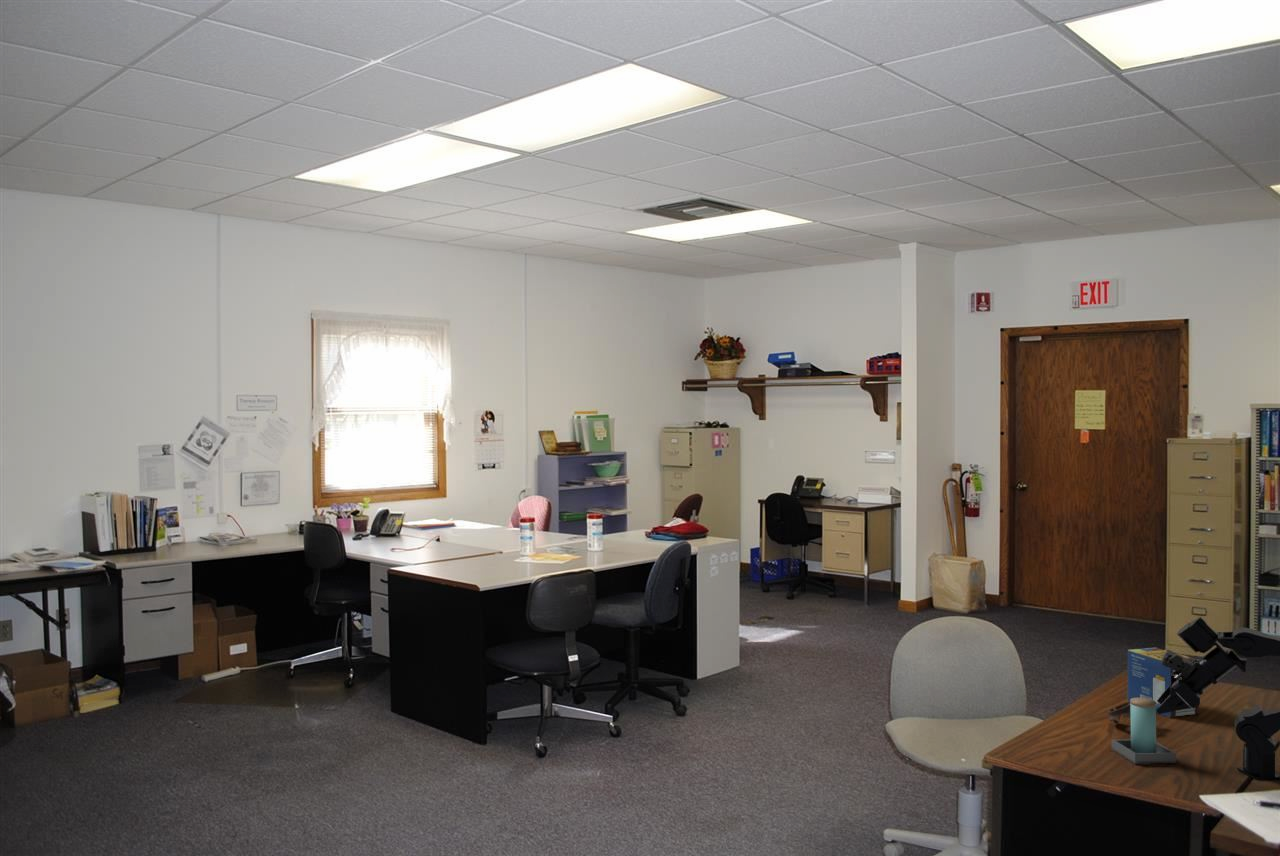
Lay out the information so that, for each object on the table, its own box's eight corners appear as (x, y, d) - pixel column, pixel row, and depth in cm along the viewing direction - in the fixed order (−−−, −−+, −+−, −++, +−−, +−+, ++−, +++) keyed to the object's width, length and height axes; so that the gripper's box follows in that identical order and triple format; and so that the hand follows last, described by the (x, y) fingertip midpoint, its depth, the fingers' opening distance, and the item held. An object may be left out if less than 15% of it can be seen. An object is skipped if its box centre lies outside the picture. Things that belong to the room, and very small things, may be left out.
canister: (1160, 758, 232) (1159, 704, 232) (1136, 757, 233) (1136, 704, 232) (1150, 750, 238) (1149, 697, 237) (1127, 749, 238) (1126, 697, 238)
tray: (1176, 763, 230) (1176, 753, 230) (1135, 764, 230) (1135, 754, 230) (1150, 748, 241) (1151, 738, 240) (1111, 749, 240) (1111, 739, 240)
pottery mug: (1140, 739, 249) (1122, 709, 252) (1113, 745, 257) (1096, 715, 260) (1168, 721, 254) (1151, 691, 257) (1142, 727, 262) (1125, 698, 265)
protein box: (1154, 699, 283) (1155, 646, 283) (1199, 715, 268) (1200, 659, 268) (1126, 702, 280) (1126, 649, 279) (1170, 718, 265) (1170, 662, 265)
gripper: (1183, 633, 239) (1133, 672, 244) (1183, 648, 223) (1129, 690, 228) (1220, 669, 235) (1168, 707, 240) (1223, 687, 219) (1167, 728, 224)
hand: (1158, 707), depth 233 cm, fingers open, 9 cm apart
